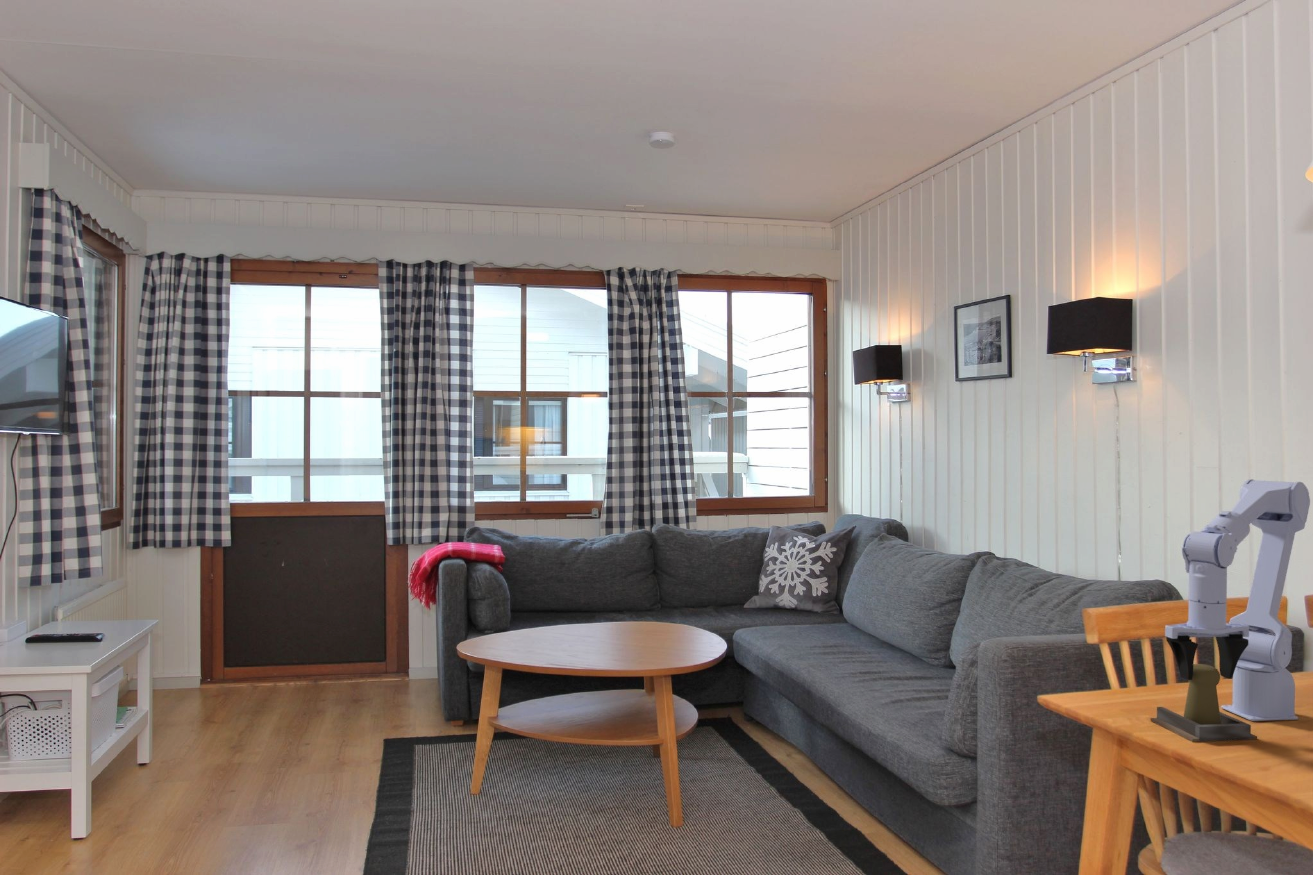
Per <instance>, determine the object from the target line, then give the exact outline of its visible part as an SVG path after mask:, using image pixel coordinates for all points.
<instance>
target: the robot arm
mask: <svg viewBox="0 0 1313 875" xmlns="http://www.w3.org/2000/svg"><path fill="white" fill-rule="evenodd" d="M1310 506H1311V498H1310V491H1309V489H1308V488H1307V486H1306V484H1304V482H1301V481H1295V482H1292V481H1278V480H1277V481H1276V480H1275V481H1274V480H1257V479H1250V478H1249V479H1246V480H1245V481H1244V483H1243V484H1242V485H1241V487H1240V491H1239V500H1238V501H1237V502H1236V504H1235V505H1234V506H1233V508H1232V509H1231V510H1221V511H1220V512H1219V513H1218V514H1217V515H1216V516H1215V517H1214V518H1213V519H1212V520H1211V521H1210V522H1208V523H1207V525H1205V526H1204V528H1202V529H1201V530H1200V531H1193V532H1191V533H1189V534H1187V535H1186V536H1185V538H1184V540H1183V543H1182V547H1181V554H1182V557H1183V559H1184V563H1185V570H1186V571H1185V572H1186V573H1187V574H1188V616H1187V617H1188V620H1187V621H1186V622H1185V623H1184V622H1183V623H1177V624H1169V625H1168V624H1166V625H1165V627H1164V637H1166V642H1167V644H1168V645H1169V647H1170V649H1171V651H1172V653H1173V655H1174V658H1175V660H1176V664H1177V668H1178V671H1179V675H1180V677H1181V678H1182V679H1185V680H1187V681H1188V680H1192V677H1193V664H1195V662H1194V661H1195V656H1196V653H1197V648H1198V646H1199V643H1198V642H1195V641H1192V638H1211V637H1212V638H1214V637H1215V640H1216V644H1217V649H1218V656H1219V659H1218V660H1219V665H1218V666H1219V673H1220V677H1224V678H1226V679H1229V680H1231V679H1232V704H1224V705H1223V704H1221V706H1220V708H1221V709H1223V710H1226V711H1228V712H1229V713H1233V714H1235V715H1237V716H1239V717H1242V718H1244V719H1247V720H1249V721H1253V722H1259V721H1260V722H1261V721H1264V722H1265V721H1286V720H1287V721H1293V720H1294V721H1295V720H1298V719H1299V717H1298V716H1297V715H1295V714H1296V709H1295V708H1296V705H1295V704H1296V682H1295V679H1294V676H1293V675H1292V673H1291V672H1290V671H1289V670H1288V669H1287V668H1286V667H1288V665H1289V664H1290V662H1291V660H1292V654H1293V649H1292V639H1293V634H1292V632H1291V630H1290V628H1288V627H1287V626H1286V625H1285V624H1284V623H1283V622H1282V621H1281V620H1280V619H1279V618H1278V615H1279V612H1280V607H1281V602H1282V598H1283V593H1284V587H1285V583H1286V580H1287V578H1286V577H1287V572H1288V568H1289V564H1290V559H1291V555H1292V549H1293V545H1294V540H1295V535H1296V533H1297V532H1300V531H1302V530H1304V529H1305V526H1306V523H1307V519H1308V516H1309V511H1310V510H1309V509H1310ZM1250 525H1252V526H1254V527H1257V528H1258V529H1260V530H1261V531H1262V536H1261V540H1260V541H1261V542H1260V546H1259V549H1258V555H1257V560H1256V563H1255V569H1254V573H1253V576H1252V577H1253V578H1252V582H1251V587H1250V590H1249V591H1250V593H1249V596H1248V601H1247V605H1246V610H1245V611H1244V612H1242V613H1239V614H1237V615H1235V616H1233V617H1231V618H1230V619H1229V622H1228V623H1227V601H1228V600H1227V599H1228V598H1227V593H1228V591H1227V590H1228V589H1227V588H1228V585H1227V584H1228V567H1230V566H1231V565H1232V563H1233V561H1234V559H1235V554H1236V553H1237V551H1238V546H1239V545H1240V544H1241V543H1242V542H1243V541H1244V540H1245V539H1246V538H1247V537H1248V535H1250V533H1251V532H1250V531H1251V526H1250ZM1190 638H1191V639H1190Z"/></svg>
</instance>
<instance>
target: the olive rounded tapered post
mask: <svg viewBox="0 0 1313 875" xmlns="http://www.w3.org/2000/svg"><path fill="white" fill-rule="evenodd" d="M1187 681H1188V689H1187V695H1186V700H1185V701H1186V702H1185V706H1184V711H1183V717H1185V718H1187V719H1189V720H1192V721H1194V722H1196V723H1198V724H1200V725H1210V724H1221V719H1220V712H1221V711H1220V705H1219V698H1218V691H1217V686H1218V684H1219V683H1220V681H1221V675H1220V670H1218V669H1217V668H1216V667H1214V666H1212V665H1209V664H1203V663H1194V664H1193V677H1192V680H1187Z"/></svg>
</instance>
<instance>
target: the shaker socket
mask: <svg viewBox="0 0 1313 875" xmlns="http://www.w3.org/2000/svg"><path fill="white" fill-rule="evenodd" d="M1220 719H1221V724H1210V725H1200V724H1198V723H1196V722H1194V721H1192V720H1189V719H1187V718H1185V717H1184V715H1181V714H1179V713H1177V712H1174V711H1173V710H1170V709H1168V708H1166V707H1164V706H1157V707H1156V717H1150V720H1149V721H1151V723H1154V724H1156V725H1158V726H1160V727H1163V728H1164V729H1166V730H1168V731H1170V732H1172V733H1174V734H1177V735H1178V736H1180V737H1182V738H1184V739H1186V740H1188V741H1189V742H1194V743H1195V742H1196V743H1197V742H1200V743H1201V742H1222V741H1223V742H1224V741H1251V740H1253V741H1254V740H1258V736H1257V735H1255V734H1252V733H1251V732H1252V731H1251V730H1252V725H1251V724H1249V723H1247V722H1245V721H1242V720H1241V719H1238V718H1235V717H1233V716H1231V715H1228V714H1226V713H1223V712H1221V711H1220Z"/></svg>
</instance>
